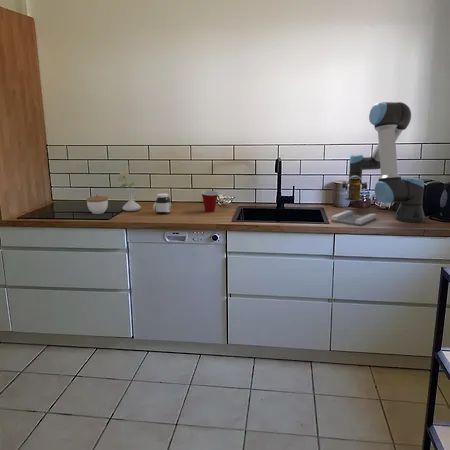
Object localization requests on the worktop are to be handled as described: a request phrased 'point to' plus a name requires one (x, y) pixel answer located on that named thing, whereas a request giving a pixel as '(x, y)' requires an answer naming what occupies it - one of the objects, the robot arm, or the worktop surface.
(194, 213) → the worktop surface
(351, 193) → the condiment
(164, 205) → the spread jar
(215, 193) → the plastic cup
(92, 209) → the lidded bowl
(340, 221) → the grey tray with rails
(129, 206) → the flower in vase
